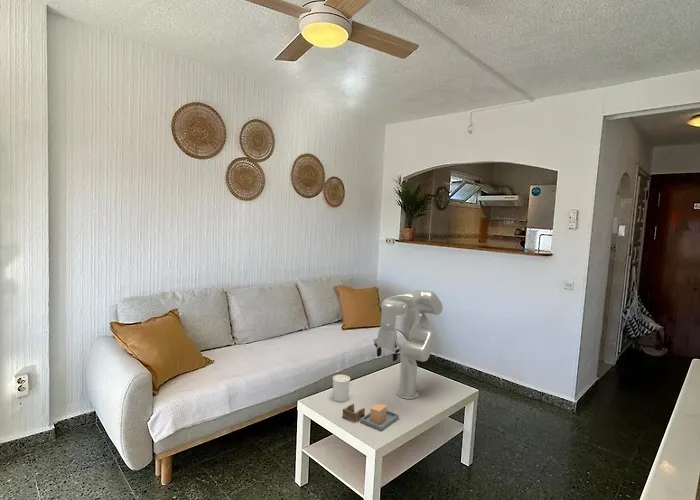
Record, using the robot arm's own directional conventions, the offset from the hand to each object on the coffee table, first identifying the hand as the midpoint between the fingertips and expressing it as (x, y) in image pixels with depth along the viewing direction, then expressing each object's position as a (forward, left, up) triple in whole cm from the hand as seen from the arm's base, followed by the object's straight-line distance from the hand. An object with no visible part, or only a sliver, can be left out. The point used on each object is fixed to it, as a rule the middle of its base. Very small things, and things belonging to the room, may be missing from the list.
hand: (386, 358), depth 206 cm
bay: (+17, -8, -28) cm, 34 cm away
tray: (+11, +4, -28) cm, 31 cm away
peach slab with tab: (+11, +4, -28) cm, 30 cm away
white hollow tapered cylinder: (+5, -26, -28) cm, 39 cm away
